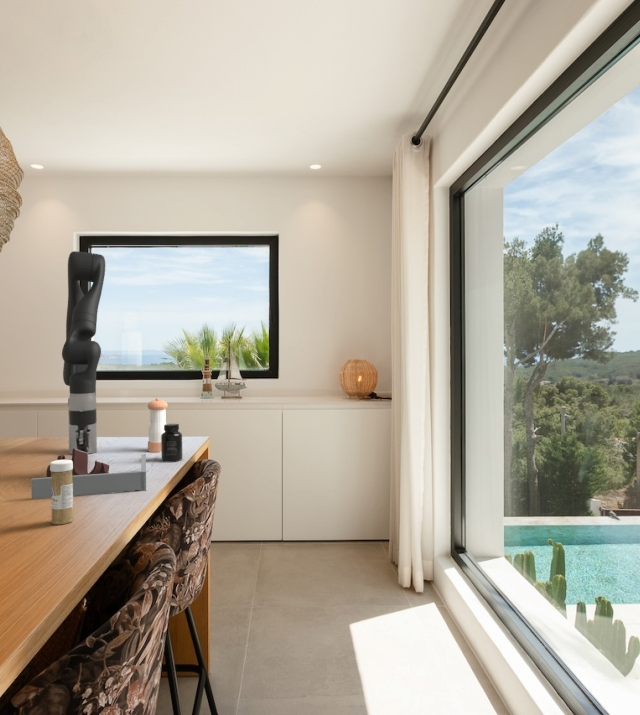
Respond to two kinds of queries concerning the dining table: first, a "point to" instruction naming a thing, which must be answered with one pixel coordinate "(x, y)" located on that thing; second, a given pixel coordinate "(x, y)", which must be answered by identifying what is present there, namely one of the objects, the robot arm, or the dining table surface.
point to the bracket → (82, 464)
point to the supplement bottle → (171, 443)
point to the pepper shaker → (156, 424)
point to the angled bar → (96, 483)
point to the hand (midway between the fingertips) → (83, 466)
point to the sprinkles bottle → (61, 491)
